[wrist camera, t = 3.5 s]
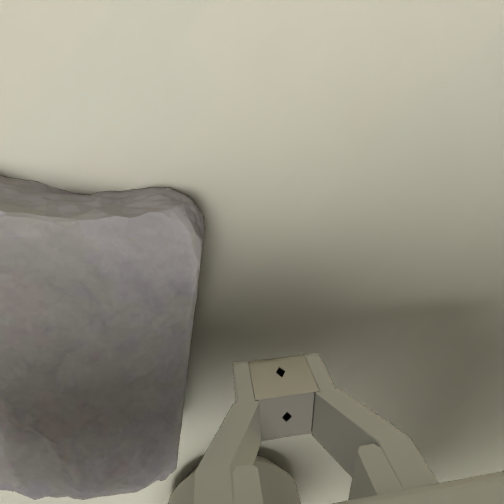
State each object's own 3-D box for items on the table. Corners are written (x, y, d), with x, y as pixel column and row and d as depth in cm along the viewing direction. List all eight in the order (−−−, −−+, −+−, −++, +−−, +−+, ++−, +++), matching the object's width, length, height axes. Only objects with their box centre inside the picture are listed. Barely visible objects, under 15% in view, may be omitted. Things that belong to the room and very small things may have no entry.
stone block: (10, 387, 15) (198, 421, 15) (-103, 488, 11) (165, 538, 10) (-31, 148, 11) (226, 191, 11) (-240, 148, 7) (192, 221, 6)
